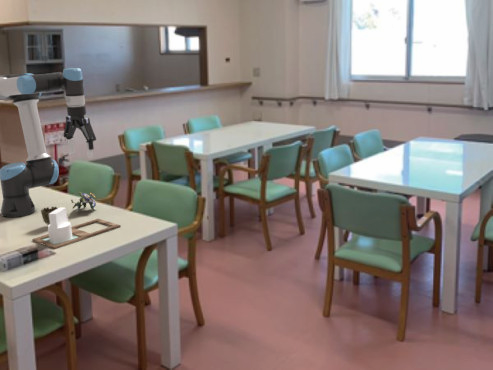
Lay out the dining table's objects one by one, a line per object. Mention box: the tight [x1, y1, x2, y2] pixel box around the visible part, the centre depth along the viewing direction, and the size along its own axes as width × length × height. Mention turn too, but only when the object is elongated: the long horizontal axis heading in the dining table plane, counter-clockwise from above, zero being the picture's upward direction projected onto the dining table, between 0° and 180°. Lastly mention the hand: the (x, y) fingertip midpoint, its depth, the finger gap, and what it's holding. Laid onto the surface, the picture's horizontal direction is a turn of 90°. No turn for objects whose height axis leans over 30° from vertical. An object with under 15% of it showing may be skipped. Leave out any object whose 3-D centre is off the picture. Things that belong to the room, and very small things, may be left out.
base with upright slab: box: [47, 207, 72, 243], centre depth 233 cm, size 9×9×12 cm
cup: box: [40, 206, 59, 227], centre depth 250 cm, size 8×7×8 cm
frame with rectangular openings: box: [32, 218, 121, 250], centre depth 240 cm, size 16×32×1 cm, turn 140°
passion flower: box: [70, 191, 97, 213], centre depth 271 cm, size 11×11×12 cm
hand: (81, 155), depth 246 cm, fingers open, 13 cm apart
